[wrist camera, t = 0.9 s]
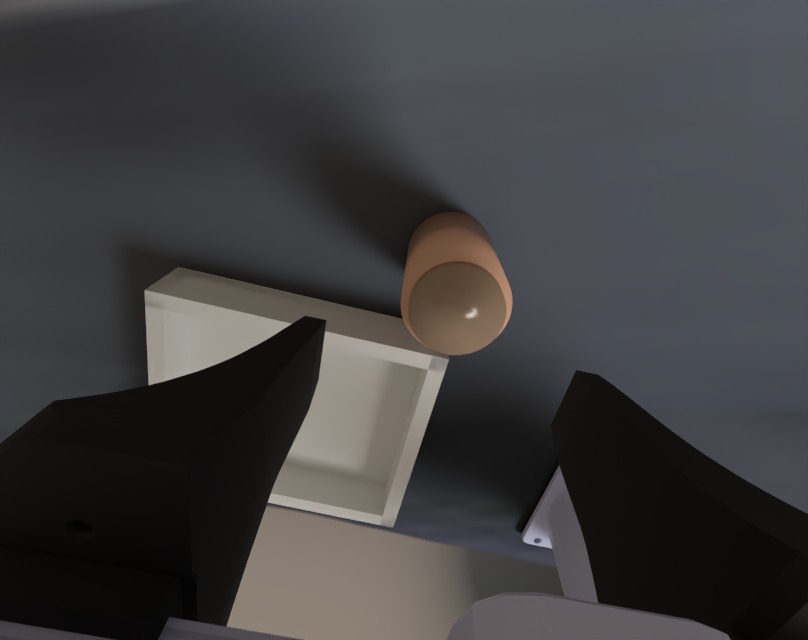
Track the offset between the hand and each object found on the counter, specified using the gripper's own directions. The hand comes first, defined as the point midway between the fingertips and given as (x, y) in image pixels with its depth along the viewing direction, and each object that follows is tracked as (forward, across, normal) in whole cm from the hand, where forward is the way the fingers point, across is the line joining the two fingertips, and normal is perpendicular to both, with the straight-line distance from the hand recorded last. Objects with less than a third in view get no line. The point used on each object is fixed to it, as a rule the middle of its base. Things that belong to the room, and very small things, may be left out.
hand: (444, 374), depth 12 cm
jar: (+10, 0, 0) cm, 10 cm away
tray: (+10, +6, +9) cm, 15 cm away
